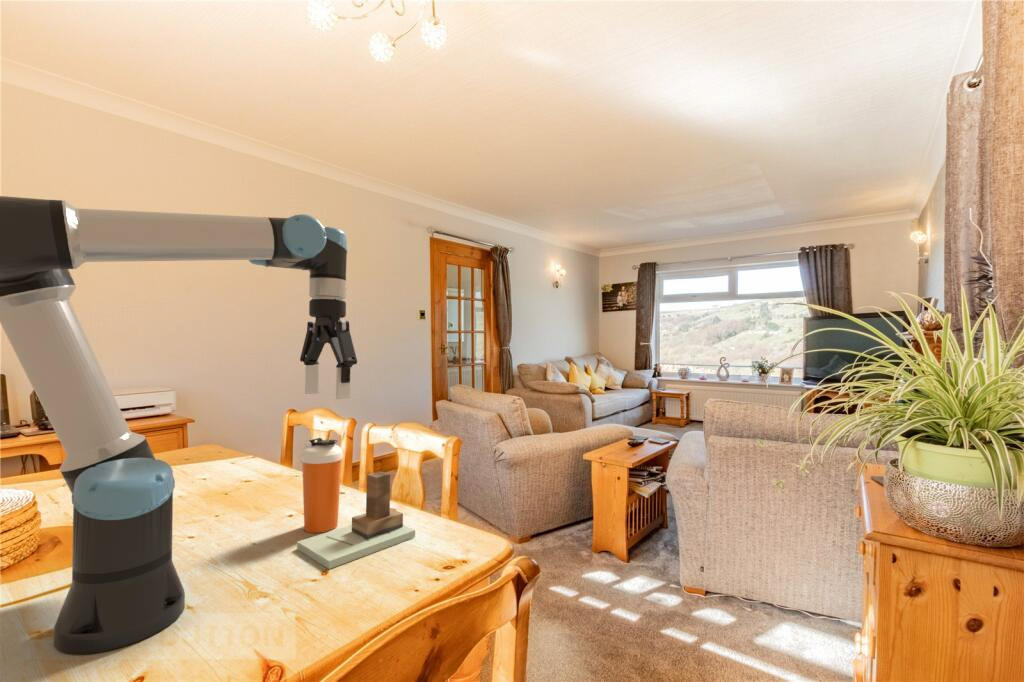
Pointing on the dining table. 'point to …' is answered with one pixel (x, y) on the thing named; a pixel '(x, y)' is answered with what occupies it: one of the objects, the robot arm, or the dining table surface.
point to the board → (349, 545)
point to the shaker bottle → (321, 484)
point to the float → (377, 509)
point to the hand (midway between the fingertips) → (326, 396)
